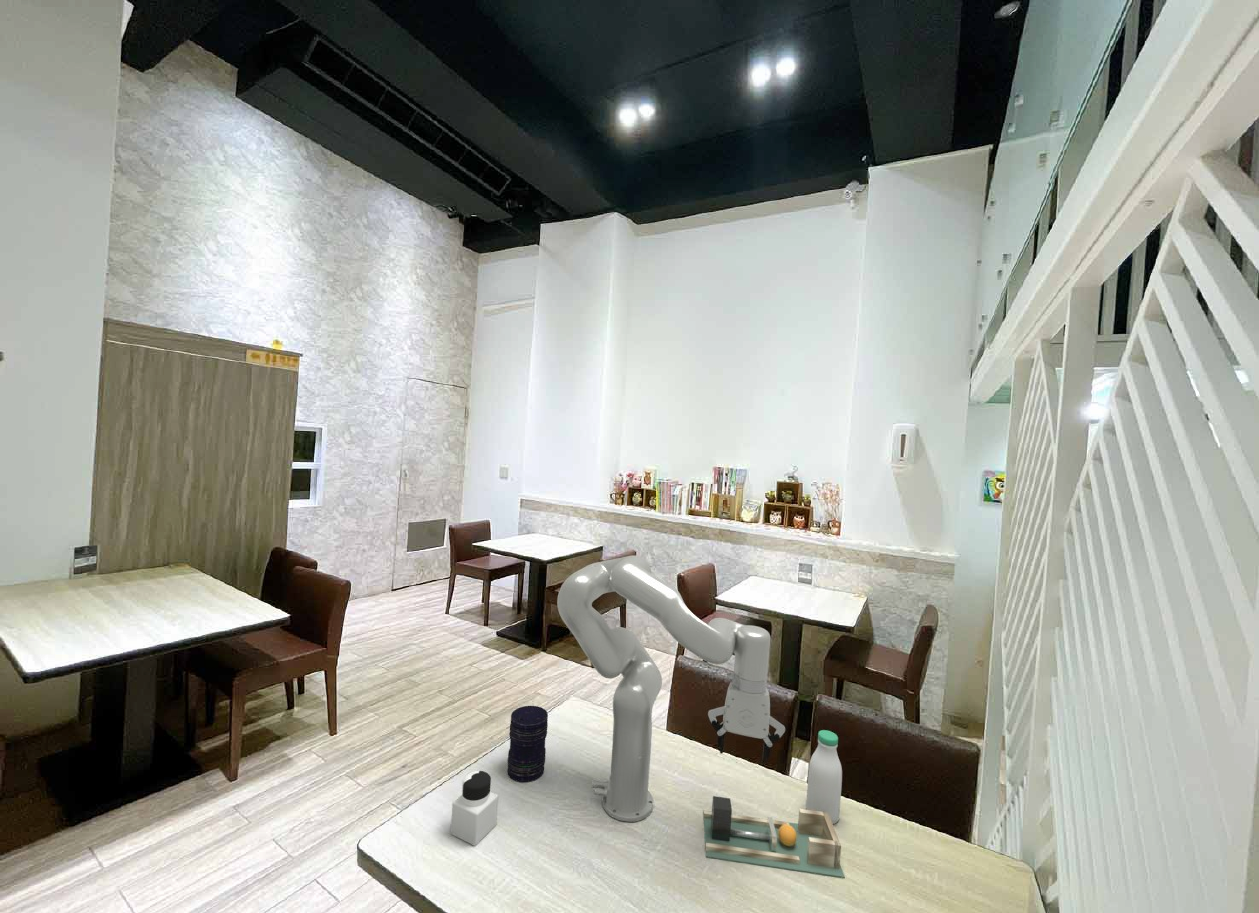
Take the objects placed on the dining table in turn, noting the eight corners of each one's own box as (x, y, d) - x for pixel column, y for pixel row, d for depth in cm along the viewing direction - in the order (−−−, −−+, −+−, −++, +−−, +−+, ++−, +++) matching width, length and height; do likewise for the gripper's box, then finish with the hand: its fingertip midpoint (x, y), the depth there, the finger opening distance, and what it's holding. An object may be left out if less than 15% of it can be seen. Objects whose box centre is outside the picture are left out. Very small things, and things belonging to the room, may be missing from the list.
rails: (705, 850, 111) (706, 846, 111) (703, 814, 121) (703, 810, 121) (799, 864, 108) (799, 859, 108) (788, 826, 119) (788, 822, 119)
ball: (779, 849, 112) (780, 831, 112) (776, 835, 116) (777, 818, 116) (797, 852, 112) (799, 834, 112) (794, 838, 116) (795, 821, 116)
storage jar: (527, 754, 141) (530, 701, 140) (552, 769, 135) (556, 714, 135) (498, 771, 133) (502, 715, 132) (524, 788, 127) (528, 729, 127)
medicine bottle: (497, 825, 114) (500, 773, 114) (475, 847, 108) (478, 791, 107) (472, 813, 117) (475, 762, 117) (449, 834, 111) (453, 780, 110)
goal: (808, 864, 109) (809, 841, 109) (797, 829, 119) (799, 808, 119) (839, 868, 108) (841, 845, 108) (826, 833, 118) (827, 812, 118)
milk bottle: (842, 828, 120) (848, 746, 120) (808, 821, 122) (814, 740, 122) (835, 806, 128) (841, 728, 128) (803, 800, 129) (809, 723, 129)
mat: (705, 857, 109) (706, 856, 109) (703, 811, 123) (703, 810, 123) (844, 878, 106) (844, 876, 106) (825, 828, 120) (825, 827, 120)
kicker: (712, 841, 113) (714, 811, 113) (710, 822, 119) (712, 793, 119) (775, 851, 111) (778, 820, 111) (771, 830, 117) (773, 801, 117)
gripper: (710, 681, 114) (703, 755, 115) (789, 697, 110) (782, 774, 110) (713, 668, 121) (706, 737, 122) (787, 682, 117) (780, 754, 118)
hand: (742, 755), depth 116 cm, fingers open, 9 cm apart
